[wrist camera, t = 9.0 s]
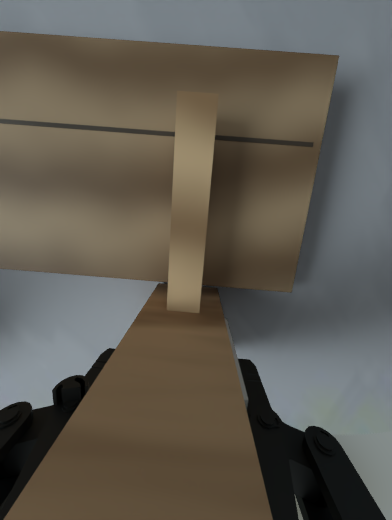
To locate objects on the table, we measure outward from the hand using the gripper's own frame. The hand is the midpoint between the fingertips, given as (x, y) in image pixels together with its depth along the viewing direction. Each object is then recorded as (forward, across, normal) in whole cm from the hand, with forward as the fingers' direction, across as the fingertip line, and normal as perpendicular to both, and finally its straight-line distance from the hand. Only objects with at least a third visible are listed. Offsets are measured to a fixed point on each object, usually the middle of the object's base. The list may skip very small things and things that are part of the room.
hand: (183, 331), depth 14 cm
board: (+2, -8, +11) cm, 14 cm away
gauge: (+2, 0, +6) cm, 6 cm away
